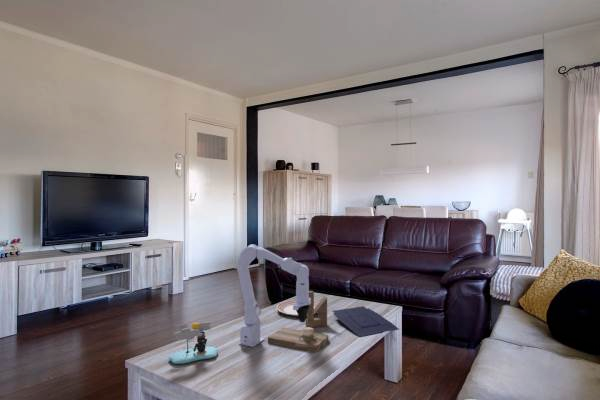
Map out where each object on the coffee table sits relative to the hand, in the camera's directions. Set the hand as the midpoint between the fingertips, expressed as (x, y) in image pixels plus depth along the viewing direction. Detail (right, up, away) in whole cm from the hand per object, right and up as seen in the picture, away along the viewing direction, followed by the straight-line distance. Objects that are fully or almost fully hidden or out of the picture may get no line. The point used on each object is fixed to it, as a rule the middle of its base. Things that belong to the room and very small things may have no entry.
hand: (302, 321), depth 171 cm
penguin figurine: (-45, -10, -16) cm, 48 cm away
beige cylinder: (+3, -10, -1) cm, 10 cm away
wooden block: (+7, -9, +22) cm, 25 cm away
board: (-2, -10, +1) cm, 10 cm away
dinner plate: (-1, -9, +46) cm, 47 cm away
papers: (+32, -10, +25) cm, 41 cm away
